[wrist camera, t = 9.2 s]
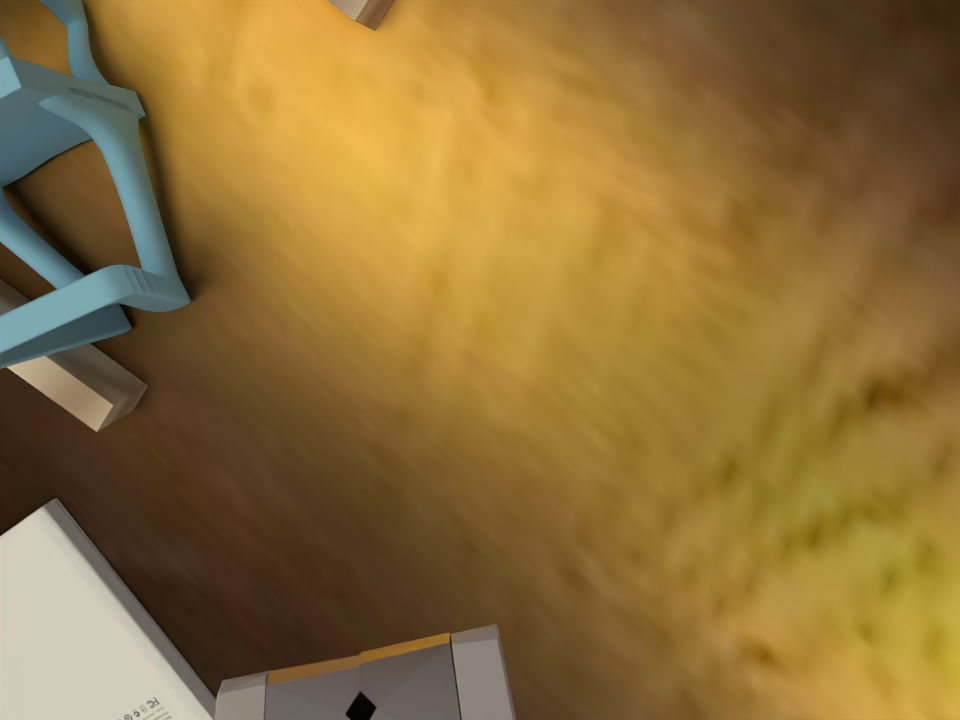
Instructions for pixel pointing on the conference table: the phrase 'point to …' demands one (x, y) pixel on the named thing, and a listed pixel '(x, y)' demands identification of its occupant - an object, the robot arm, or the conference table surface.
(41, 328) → the chair
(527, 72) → the conference table surface
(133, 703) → the external hard drive
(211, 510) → the conference table surface
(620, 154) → the conference table surface
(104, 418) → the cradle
